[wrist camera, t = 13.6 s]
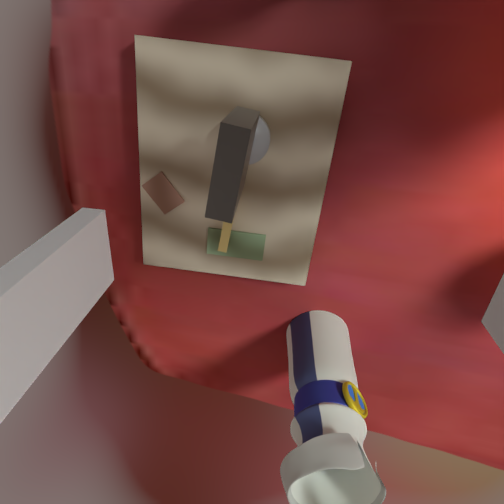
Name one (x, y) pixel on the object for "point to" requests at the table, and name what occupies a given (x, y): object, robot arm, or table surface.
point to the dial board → (258, 174)
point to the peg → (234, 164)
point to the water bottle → (326, 417)
